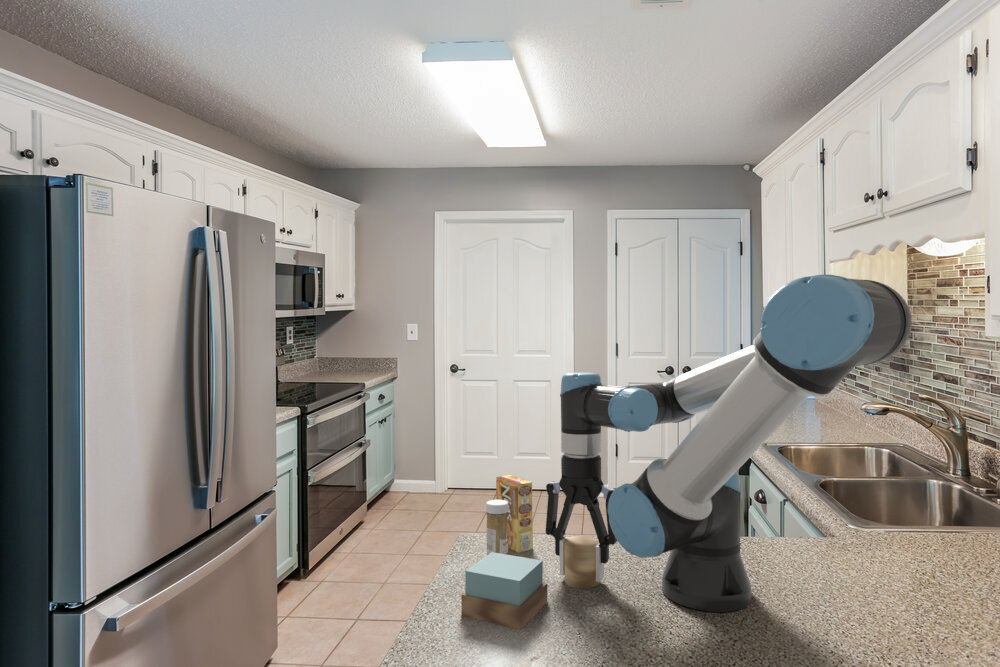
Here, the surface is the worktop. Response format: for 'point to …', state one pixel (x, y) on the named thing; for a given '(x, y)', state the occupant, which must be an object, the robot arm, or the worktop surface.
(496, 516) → the sprinkles bottle
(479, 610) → the tower bottom
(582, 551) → the beige piece
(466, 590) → the tower top
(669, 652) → the worktop surface
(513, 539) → the candy box
